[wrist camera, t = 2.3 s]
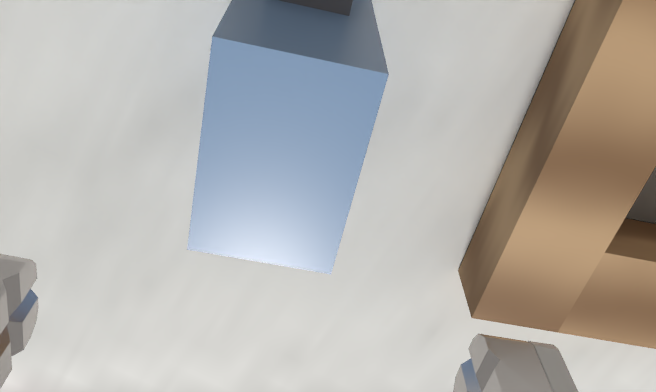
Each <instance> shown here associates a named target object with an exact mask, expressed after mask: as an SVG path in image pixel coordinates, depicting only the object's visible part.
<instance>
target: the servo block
mask: <svg viewBox="0 0 656 392" xmlns="http://www.w3.org/2000/svg"><path fill="white" fill-rule="evenodd" d="M387 78H388V70H387V65H386V61H385V57H384V52H383V48H382V44H381V40H380V35H379V31H378V27H377V23H376V18H375V14H374V10H373V5H372V1H371V0H232V1H231V3H230V5H229V7H228V9H227V10H226V12H225V14H224V16H223V18H222V20H221V21H220V23H219V25H218V27H217V29H216V31H215V33H214V34H213V36H212V44H211V53H210V61H209V70H208V78H207V87H206V95H205V103H204V112H203V120H202V129H201V137H200V146H199V154H198V163H197V171H196V180H195V188H194V197H193V205H192V214H191V222H190V231H189V239H188V247H187V250H193V251H199V252H204V253H210V254H216V255H222V256H228V257H233V258H239V259H245V260H251V261H257V262H262V263H268V264H274V265H280V266H286V267H291V268H297V269H303V270H309V271H315V272H321V273H326V274H331V272H332V269H333V265H334V262H335V258H336V255H337V251H338V248H339V244H340V241H341V237H342V234H343V231H344V227H345V224H346V220H347V217H348V213H349V210H350V206H351V203H352V199H353V196H354V192H355V189H356V185H357V182H358V178H359V175H360V172H361V168H362V165H363V161H364V158H365V154H366V151H367V147H368V144H369V140H370V137H371V133H372V130H373V126H374V123H375V119H376V116H377V113H378V109H379V106H380V102H381V99H382V95H383V92H384V88H385V85H386V81H387Z"/></svg>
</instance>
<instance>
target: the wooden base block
mask: <svg viewBox="0 0 656 392" xmlns="http://www.w3.org/2000/svg"><path fill="white" fill-rule="evenodd" d="M655 167H656V0H575V2H574V5H573V7H572V9H571V12H570V14H569V16H568V19H567V21H566V23H565V26H564V28H563V30H562V32H561V35H560V37H559V39H558V42H557V44H556V46H555V49H554V51H553V53H552V56H551V58H550V60H549V62H548V65H547V67H546V69H545V72H544V74H543V76H542V79H541V81H540V83H539V85H538V88H537V90H536V92H535V95H534V97H533V99H532V102H531V104H530V106H529V109H528V111H527V113H526V115H525V118H524V120H523V122H522V125H521V127H520V129H519V132H518V134H517V136H516V138H515V141H514V143H513V145H512V148H511V150H510V152H509V155H508V157H507V159H506V162H505V164H504V166H503V168H502V171H501V173H500V175H499V178H498V180H497V182H496V185H495V187H494V189H493V191H492V194H491V196H490V198H489V201H488V203H487V205H486V208H485V210H484V212H483V215H482V217H481V219H480V221H479V224H478V226H477V228H476V231H475V233H474V235H473V238H472V240H471V242H470V245H469V247H468V249H467V251H466V254H465V256H464V258H463V261H462V263H461V265H460V268H459V270H458V272H459V275H460V279H461V282H462V286H463V289H464V293H465V296H466V300H467V303H468V307H469V310H470V314H471V317H472V318H476V319H481V320H487V321H493V322H499V323H505V324H511V325H517V326H523V327H529V328H535V329H541V330H547V331H553V332H559V333H565V334H571V335H577V336H583V337H588V338H594V339H600V340H606V341H612V342H618V343H624V344H630V345H636V346H642V347H648V348H654V349H656V224H653V223H647V222H642V221H637V220H632V219H627V218H625V217H626V216H627V214H628V212H629V211H630V209H631V207H632V206H633V204H634V202H635V200H636V199H637V197H638V195H639V194H640V192H641V190H642V189H643V187H644V185H645V184H646V182H647V180H648V178H649V177H650V175H651V173H652V172H653V170H654V168H655Z"/></svg>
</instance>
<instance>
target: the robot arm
mask: <svg viewBox="0 0 656 392" xmlns="http://www.w3.org/2000/svg"><path fill="white" fill-rule="evenodd" d="M36 279H37V269H36V263H35V262H34V261H33V260H31V259H25V258H20V257H15V256H9V255H4V254H0V388H1V387H2V385H3V383H4V382H5V380H6V378H7V377H8V375H9V373H10V372H11V370H12V361H11V356H13V355H15V354H17V353H19V352H20V351H22V350H24V348H25V346H26V345H27V343H28V341H29V339H30V338H31V335H32V332H33V329H34V327H35V324H36V320H37V313H38V297H37V296H36V295H35V293H34V292H33V291H32V290H31V287H32V286H33V284H34V282H35V281H36ZM469 352H470V356H471V359H469V360H468V361H466V362H464V363H463V364H461V365H460V368H459V370H458V372H457V375H456V377H455V384H454V390H453V392H578V390H577V388H576V386H575V384H574V382H573V379H572V377H571V375H570V373H569V371H568V369H567V366H566V364H565V362H564V360H563V358H562V356H561V354H560V351H559V350H558V348H556V347H555V346H554V345H551V344H544V343H538V342H531V341H528V342H526V341H521V340H515V339H508V338H502V337H496V336H489V335H483V334H477V335H476V336H475V337H474V338H473V340H472V342H471V344H470V346H469Z"/></svg>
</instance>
